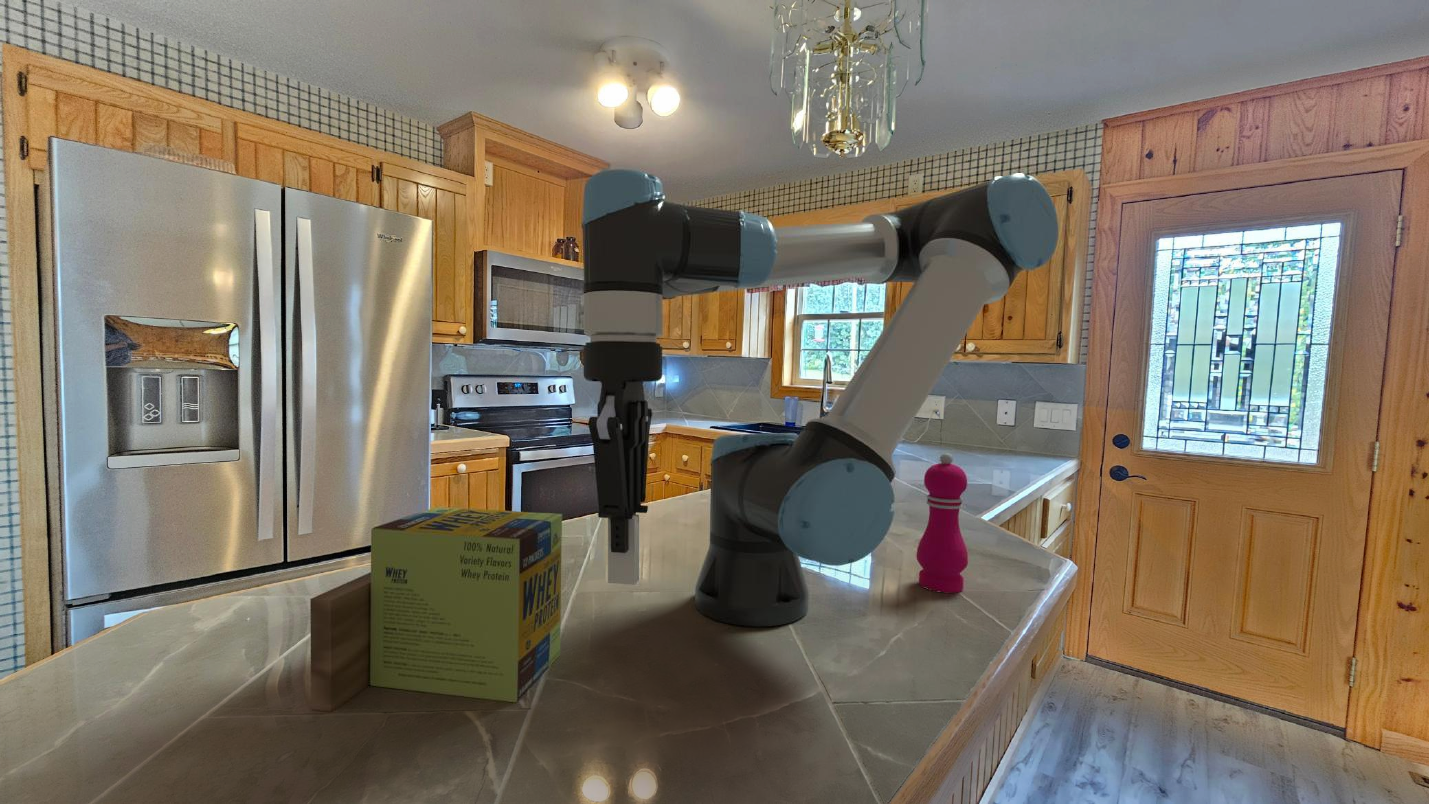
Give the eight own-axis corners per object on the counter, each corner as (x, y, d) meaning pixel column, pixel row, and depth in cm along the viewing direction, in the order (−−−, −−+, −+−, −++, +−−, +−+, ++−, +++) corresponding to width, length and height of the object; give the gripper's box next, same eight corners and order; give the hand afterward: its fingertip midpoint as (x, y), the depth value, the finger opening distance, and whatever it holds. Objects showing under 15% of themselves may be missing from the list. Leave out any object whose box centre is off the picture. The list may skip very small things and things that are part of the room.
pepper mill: (976, 589, 92) (983, 454, 91) (946, 598, 88) (953, 457, 87) (935, 575, 98) (940, 448, 97) (905, 583, 94) (910, 451, 93)
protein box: (519, 704, 57) (521, 537, 57) (367, 687, 60) (367, 527, 59) (563, 654, 68) (565, 512, 67) (432, 641, 70) (433, 504, 69)
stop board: (457, 622, 75) (458, 540, 75) (330, 711, 55) (330, 600, 55) (442, 621, 75) (443, 539, 75) (310, 709, 56) (310, 598, 55)
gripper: (607, 342, 67) (608, 558, 68) (558, 337, 54) (560, 603, 55) (676, 343, 66) (675, 562, 67) (642, 337, 53) (642, 609, 54)
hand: (623, 580), depth 61 cm, fingers closed
